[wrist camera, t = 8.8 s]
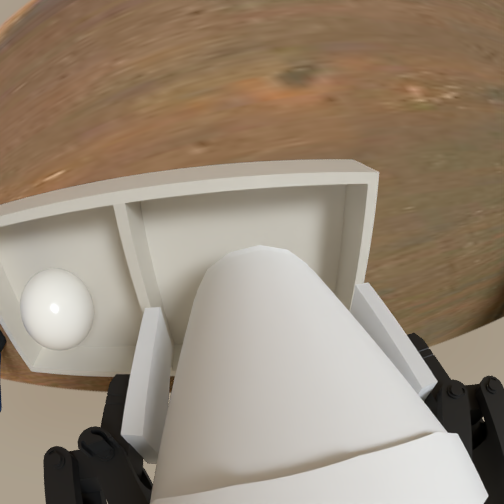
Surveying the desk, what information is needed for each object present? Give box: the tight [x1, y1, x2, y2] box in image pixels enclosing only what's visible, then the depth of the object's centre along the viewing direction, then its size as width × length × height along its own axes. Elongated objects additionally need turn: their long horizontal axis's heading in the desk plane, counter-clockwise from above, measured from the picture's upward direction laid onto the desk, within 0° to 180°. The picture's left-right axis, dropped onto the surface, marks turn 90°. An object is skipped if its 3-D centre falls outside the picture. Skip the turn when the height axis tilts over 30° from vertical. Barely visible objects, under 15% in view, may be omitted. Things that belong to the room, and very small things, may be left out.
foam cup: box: [150, 245, 488, 504], centre depth 10 cm, size 10×9×13 cm
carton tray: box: [0, 159, 379, 377], centre depth 16 cm, size 25×13×3 cm, turn 92°
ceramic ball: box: [20, 268, 94, 351], centre depth 14 cm, size 5×5×5 cm
